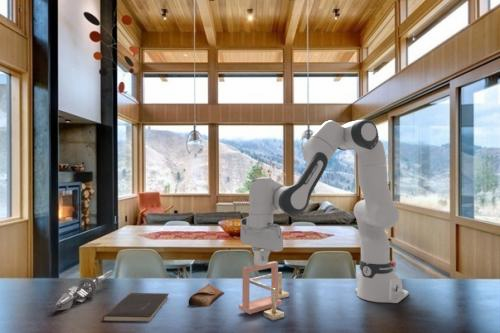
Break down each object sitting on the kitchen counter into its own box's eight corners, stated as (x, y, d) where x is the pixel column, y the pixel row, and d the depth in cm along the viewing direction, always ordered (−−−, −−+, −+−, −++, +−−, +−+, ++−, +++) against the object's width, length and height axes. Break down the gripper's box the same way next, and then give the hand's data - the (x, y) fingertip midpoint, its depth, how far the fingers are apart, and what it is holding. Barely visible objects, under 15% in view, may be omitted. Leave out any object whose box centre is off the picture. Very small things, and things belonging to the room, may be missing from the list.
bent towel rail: (280, 293, 145) (280, 270, 145) (315, 306, 130) (315, 280, 130) (239, 304, 132) (239, 278, 132) (273, 320, 117) (273, 291, 117)
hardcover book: (168, 299, 139) (168, 293, 139) (150, 323, 116) (150, 316, 116) (128, 298, 139) (128, 292, 139) (102, 322, 116) (102, 315, 116)
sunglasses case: (209, 307, 129) (201, 290, 130) (194, 315, 130) (185, 298, 131) (225, 292, 146) (217, 277, 147) (211, 299, 147) (204, 285, 149)
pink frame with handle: (239, 308, 124) (239, 251, 124) (270, 300, 133) (270, 246, 134) (249, 314, 119) (249, 254, 120) (281, 304, 128) (281, 249, 129)
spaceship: (123, 267, 155) (107, 259, 157) (69, 302, 121) (49, 292, 122) (117, 282, 157) (102, 275, 158) (62, 322, 122) (43, 312, 123)
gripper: (287, 223, 121) (287, 264, 120) (250, 218, 137) (250, 254, 136) (273, 225, 117) (273, 267, 116) (237, 219, 133) (237, 256, 133)
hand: (260, 260), depth 127 cm, fingers closed on pink frame with handle, 3 cm apart
